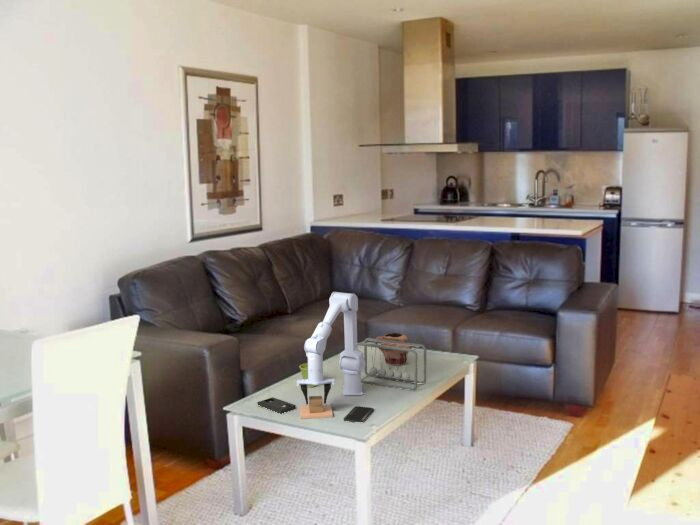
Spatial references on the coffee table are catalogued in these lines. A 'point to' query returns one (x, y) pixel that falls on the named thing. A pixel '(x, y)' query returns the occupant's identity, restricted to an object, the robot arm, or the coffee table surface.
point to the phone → (358, 414)
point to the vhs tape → (277, 405)
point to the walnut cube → (315, 404)
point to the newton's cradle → (390, 373)
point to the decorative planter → (394, 354)
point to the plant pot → (305, 373)
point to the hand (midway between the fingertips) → (316, 403)
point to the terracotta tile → (306, 413)
